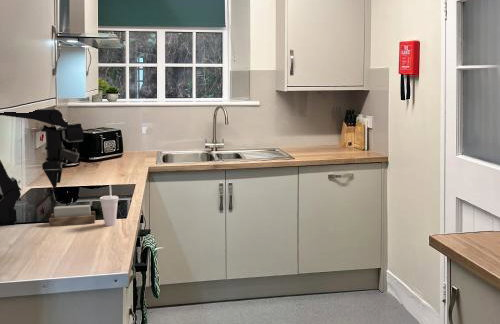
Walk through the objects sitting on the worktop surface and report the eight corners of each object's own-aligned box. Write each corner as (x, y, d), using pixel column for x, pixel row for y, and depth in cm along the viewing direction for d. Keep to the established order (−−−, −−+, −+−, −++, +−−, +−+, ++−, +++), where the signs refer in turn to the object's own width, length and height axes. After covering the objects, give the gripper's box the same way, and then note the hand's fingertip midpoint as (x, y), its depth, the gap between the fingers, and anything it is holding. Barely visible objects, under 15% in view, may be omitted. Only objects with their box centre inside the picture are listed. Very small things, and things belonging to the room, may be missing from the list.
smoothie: (120, 226, 185) (118, 186, 183) (100, 227, 183) (98, 187, 181) (119, 221, 191) (117, 182, 189) (100, 222, 189) (98, 184, 187)
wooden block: (49, 226, 186) (49, 218, 185) (52, 220, 193) (51, 213, 192) (94, 223, 189) (94, 216, 189) (95, 218, 196) (95, 211, 196)
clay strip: (54, 222, 188) (53, 208, 187) (55, 220, 191) (54, 206, 190) (90, 220, 191) (89, 206, 190) (90, 218, 194) (90, 204, 193)
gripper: (74, 145, 189) (76, 188, 191) (80, 140, 207) (82, 179, 209) (40, 146, 187) (43, 190, 189) (49, 140, 205) (52, 180, 207)
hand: (56, 185), depth 199 cm, fingers open, 9 cm apart
